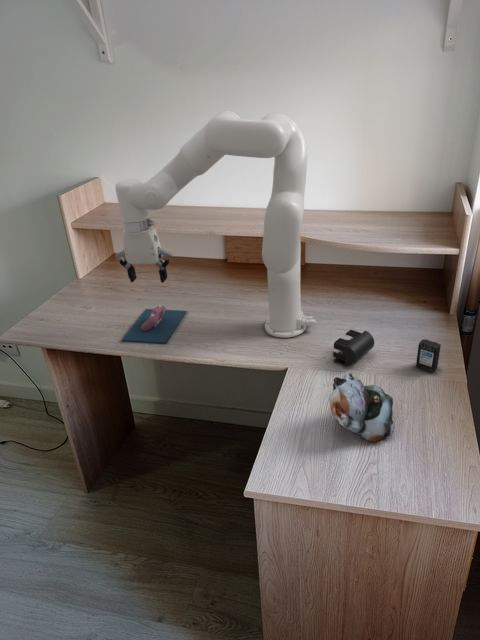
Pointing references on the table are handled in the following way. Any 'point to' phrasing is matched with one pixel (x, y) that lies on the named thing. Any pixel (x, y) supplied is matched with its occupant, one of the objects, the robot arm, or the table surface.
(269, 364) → the table surface
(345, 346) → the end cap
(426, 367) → the ink cartridge
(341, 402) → the lucky cat figurine
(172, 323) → the rubber mat
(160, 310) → the video game controller
